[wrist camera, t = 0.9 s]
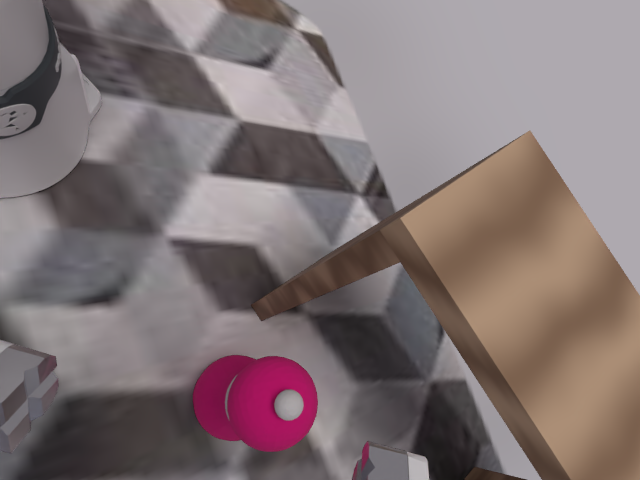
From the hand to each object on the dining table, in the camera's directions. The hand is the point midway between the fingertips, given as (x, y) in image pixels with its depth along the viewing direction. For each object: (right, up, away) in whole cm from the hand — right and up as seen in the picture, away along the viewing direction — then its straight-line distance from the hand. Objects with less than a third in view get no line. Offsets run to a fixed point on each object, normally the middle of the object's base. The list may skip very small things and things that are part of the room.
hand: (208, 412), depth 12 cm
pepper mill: (-7, -11, +33) cm, 35 cm away
